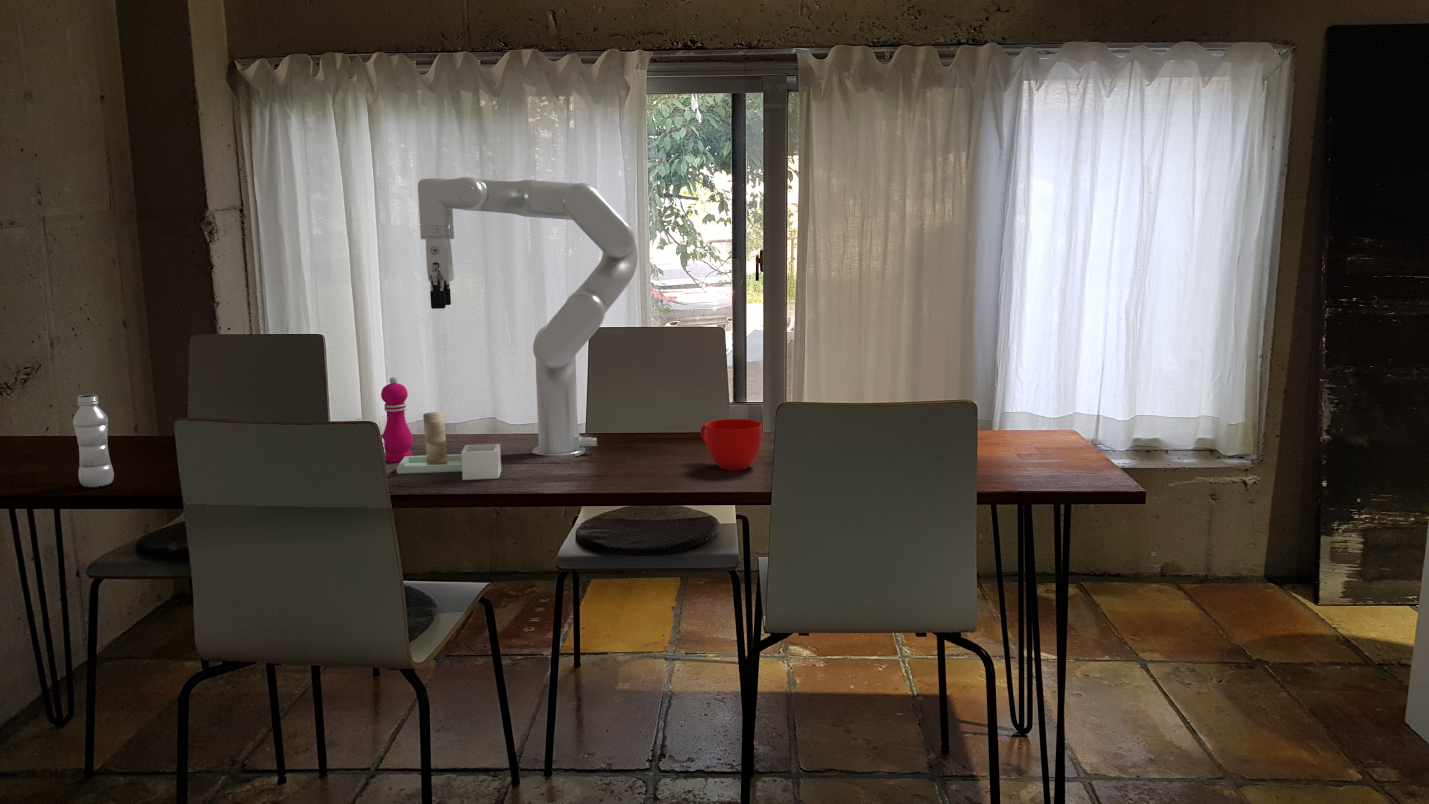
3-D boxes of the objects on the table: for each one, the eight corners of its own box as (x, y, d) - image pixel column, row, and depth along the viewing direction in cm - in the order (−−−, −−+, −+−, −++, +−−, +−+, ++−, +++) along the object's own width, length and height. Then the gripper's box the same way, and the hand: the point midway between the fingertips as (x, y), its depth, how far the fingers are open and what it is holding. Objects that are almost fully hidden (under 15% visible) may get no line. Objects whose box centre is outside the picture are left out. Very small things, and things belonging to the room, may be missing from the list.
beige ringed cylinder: (448, 462, 241) (445, 411, 239) (446, 467, 237) (442, 415, 234) (428, 463, 240) (424, 412, 238) (425, 468, 236) (421, 416, 234)
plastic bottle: (88, 483, 231) (78, 393, 227) (120, 482, 231) (110, 393, 228) (73, 490, 225) (62, 398, 221) (106, 489, 225) (96, 398, 222)
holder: (501, 474, 235) (500, 443, 234) (498, 482, 227) (497, 451, 226) (466, 475, 234) (465, 445, 233) (462, 484, 226) (461, 452, 225)
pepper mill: (405, 463, 246) (399, 379, 243) (377, 462, 248) (371, 378, 244) (419, 456, 253) (414, 375, 250) (392, 455, 255) (386, 374, 251)
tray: (475, 464, 245) (475, 453, 244) (470, 475, 234) (470, 464, 234) (405, 466, 243) (405, 456, 243) (397, 478, 232) (396, 467, 232)
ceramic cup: (721, 455, 251) (721, 414, 249) (774, 466, 239) (774, 423, 238) (682, 464, 242) (681, 422, 240) (734, 476, 230) (734, 432, 229)
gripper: (448, 233, 235) (453, 309, 238) (458, 232, 252) (461, 303, 255) (414, 233, 234) (419, 310, 237) (426, 232, 251) (430, 304, 254)
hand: (441, 306), depth 246 cm, fingers open, 9 cm apart
